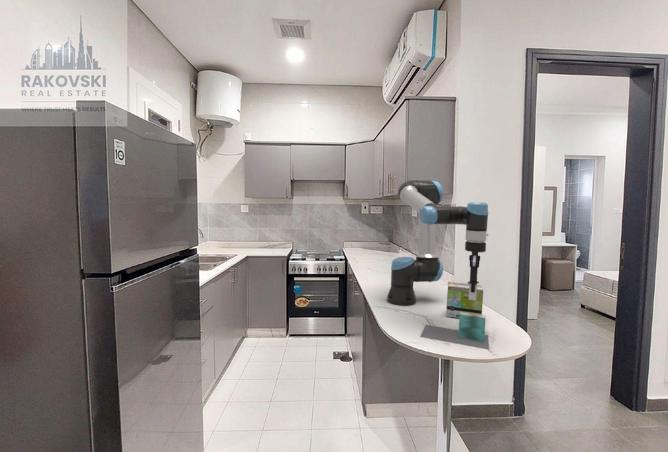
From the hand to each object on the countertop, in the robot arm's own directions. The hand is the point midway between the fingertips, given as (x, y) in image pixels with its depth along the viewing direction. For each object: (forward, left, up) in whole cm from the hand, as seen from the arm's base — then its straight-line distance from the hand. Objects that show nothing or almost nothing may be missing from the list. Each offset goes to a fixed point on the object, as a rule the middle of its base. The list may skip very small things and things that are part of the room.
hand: (472, 299), depth 127 cm
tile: (0, -7, -13) cm, 15 cm away
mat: (-6, -8, -14) cm, 17 cm away
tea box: (-4, +20, -14) cm, 25 cm away
